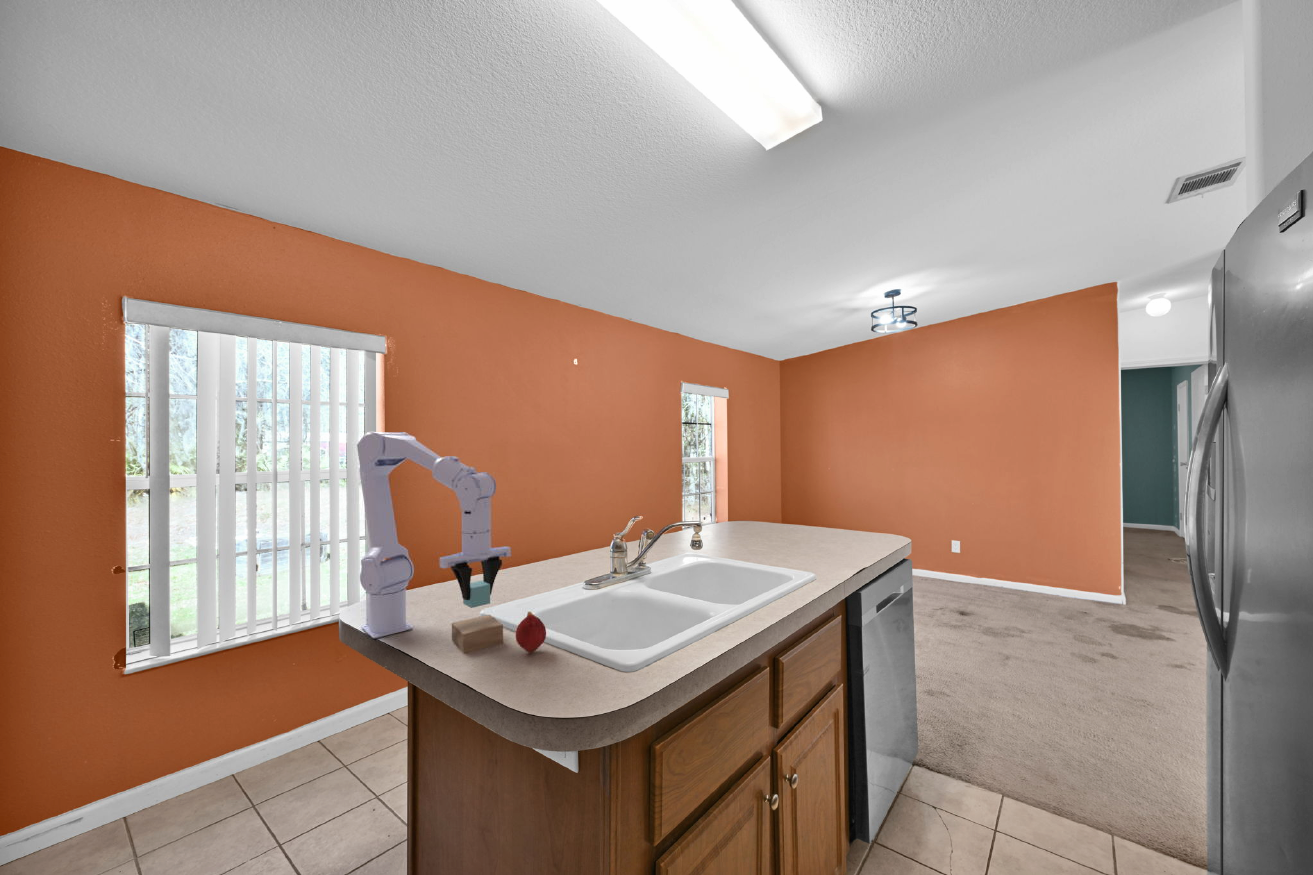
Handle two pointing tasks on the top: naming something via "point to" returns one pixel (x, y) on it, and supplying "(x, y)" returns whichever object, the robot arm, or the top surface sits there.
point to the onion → (530, 633)
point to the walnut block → (477, 633)
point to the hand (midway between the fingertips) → (477, 596)
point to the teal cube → (478, 594)
